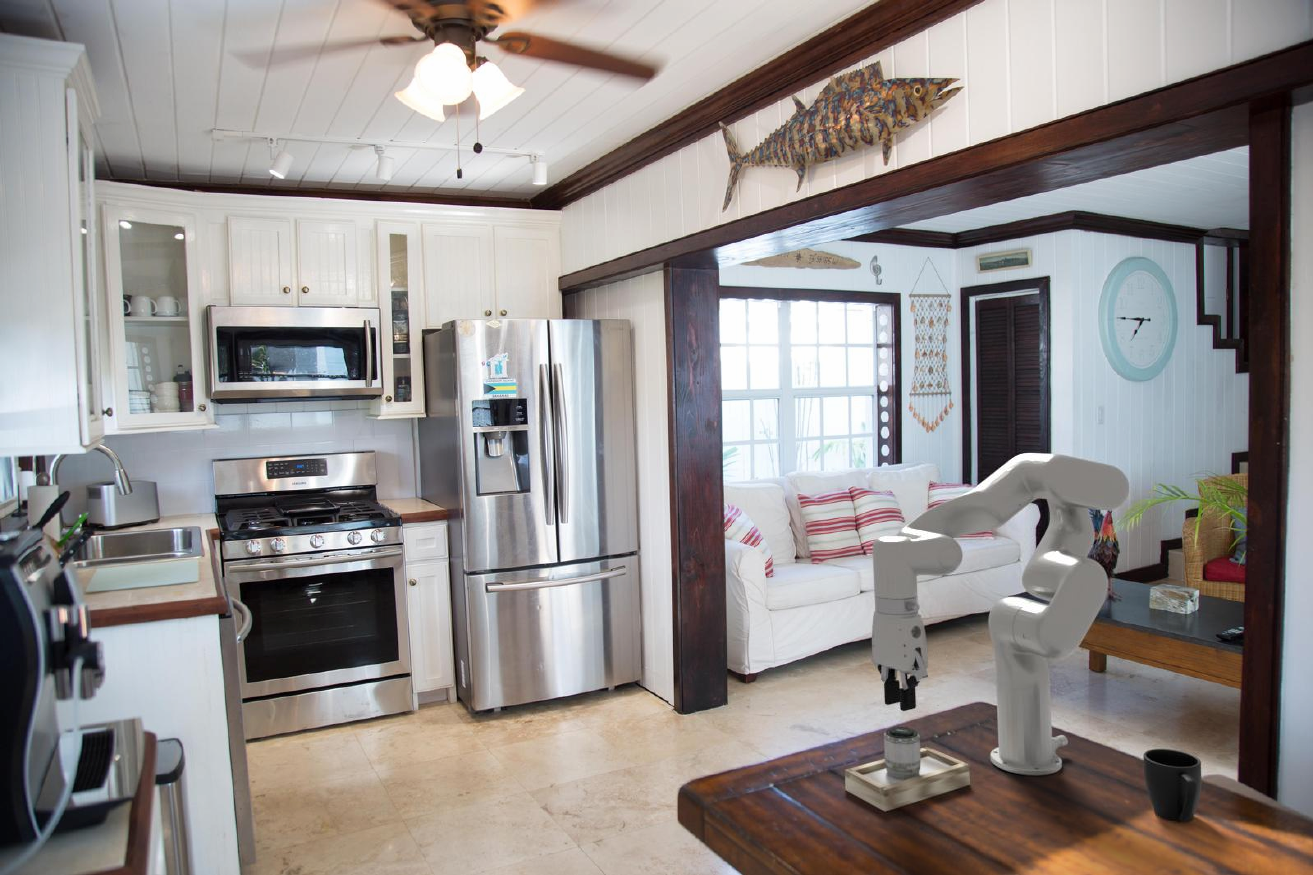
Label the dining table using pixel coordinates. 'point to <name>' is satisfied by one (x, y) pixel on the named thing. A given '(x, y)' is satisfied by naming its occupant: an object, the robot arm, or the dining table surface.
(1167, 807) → the mug
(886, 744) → the camera lens
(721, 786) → the dining table surface
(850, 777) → the beige rimmed shallow tray
